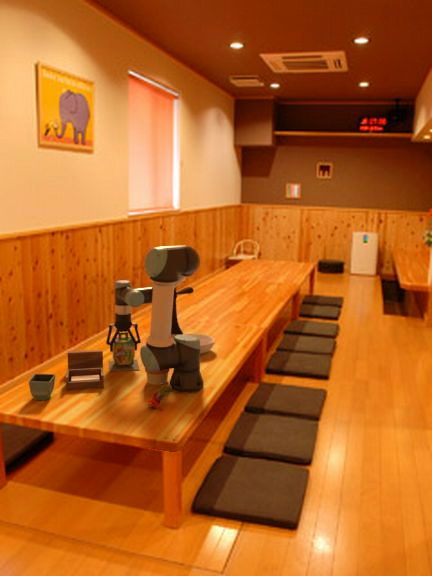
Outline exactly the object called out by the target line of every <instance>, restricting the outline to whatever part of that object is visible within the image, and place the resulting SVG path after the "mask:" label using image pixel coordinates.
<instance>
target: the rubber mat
mask: <svg viewBox="0 0 432 576" xmlns="http://www.w3.org/2000/svg"><path fill="white" fill-rule="evenodd" d="M108 368H109V372H110V373H117V372H118V373H119V372H135V371H136V372H137V371H140V366H139V362H138V359H134V364H133V365H117V366H115V363H114V360H108Z"/></svg>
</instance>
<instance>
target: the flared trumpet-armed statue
mask: <svg viewBox="0 0 432 576" xmlns="http://www.w3.org/2000/svg"><path fill="white" fill-rule="evenodd" d="M177 288H178V286H176V287H175V288H174V296H173V311H172V325H171V335H175V336H176V335H184V332H183V330H182V328H181V327H180V324H179V321H178V313H177V298H178V295H188V294H192V293H194V288H193V287H191V286H186V287H185V288H182V289H180V290H178V291H177Z"/></svg>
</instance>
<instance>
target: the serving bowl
mask: <svg viewBox="0 0 432 576" xmlns="http://www.w3.org/2000/svg"><path fill="white" fill-rule="evenodd" d="M183 335H189V336H193V337H196V338H198V339H199V341H200V348H201V349H200V355H201V354H204V353H207V352H209V351H211V350H212V348H213V347H214V344H215V338H214V337H212V336H210V335H206V334H203V333H185V334H184V333H183Z"/></svg>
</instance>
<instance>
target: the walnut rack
mask: <svg viewBox="0 0 432 576" xmlns="http://www.w3.org/2000/svg"><path fill="white" fill-rule="evenodd" d="M66 355H67V369H66V372H65V390H66V391H81V390H82V391H83V390H96V389H97V390H98V389H105V379H104V373H105V372H104V357H103V356H104V354H103V349H94V350H93V349H92V350H89V349H88V350H73V351H72V350H71V351H67V354H66ZM85 375H99V378H100V380H94V381H77V382H70V379H71V377H72V376H85Z"/></svg>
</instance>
